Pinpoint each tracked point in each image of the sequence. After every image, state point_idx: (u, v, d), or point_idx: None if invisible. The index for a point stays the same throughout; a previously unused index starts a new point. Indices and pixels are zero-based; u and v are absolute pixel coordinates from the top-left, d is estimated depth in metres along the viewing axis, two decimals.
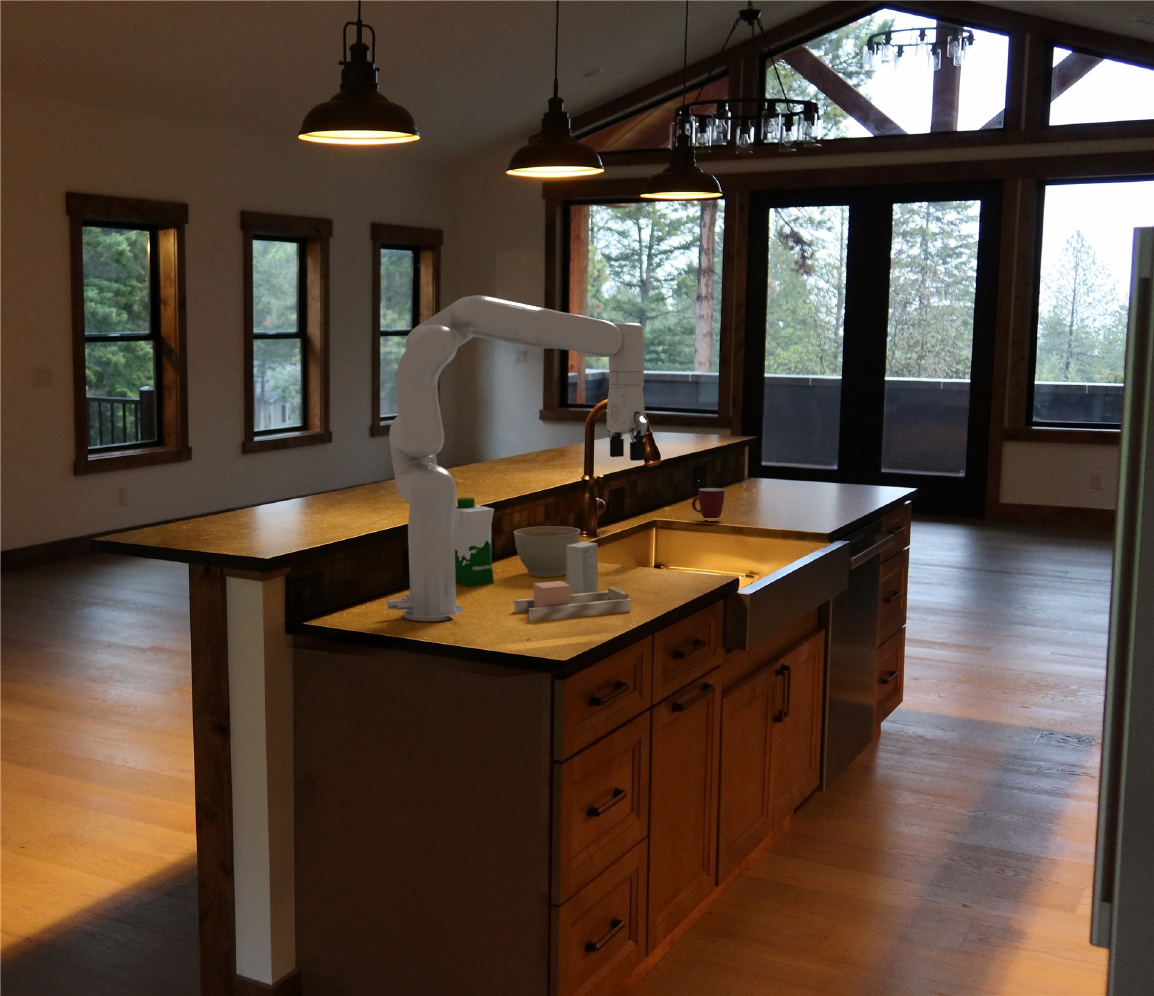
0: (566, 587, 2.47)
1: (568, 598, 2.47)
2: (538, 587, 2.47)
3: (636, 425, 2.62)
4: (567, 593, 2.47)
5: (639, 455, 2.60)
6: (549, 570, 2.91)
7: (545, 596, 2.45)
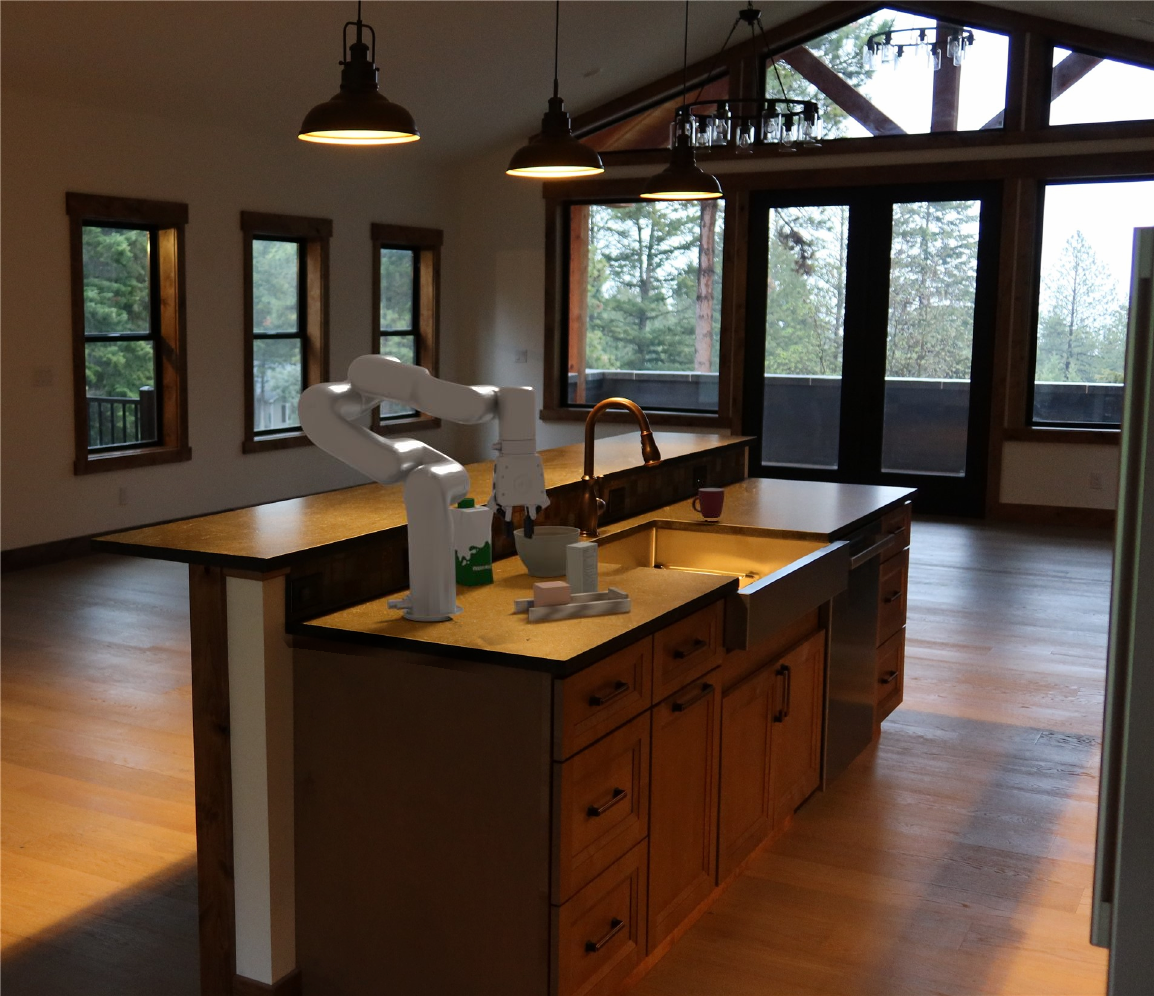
0: (566, 587, 2.47)
1: (568, 598, 2.47)
2: (538, 587, 2.47)
3: None
4: (567, 593, 2.47)
5: None
6: (549, 570, 2.91)
7: (545, 596, 2.45)
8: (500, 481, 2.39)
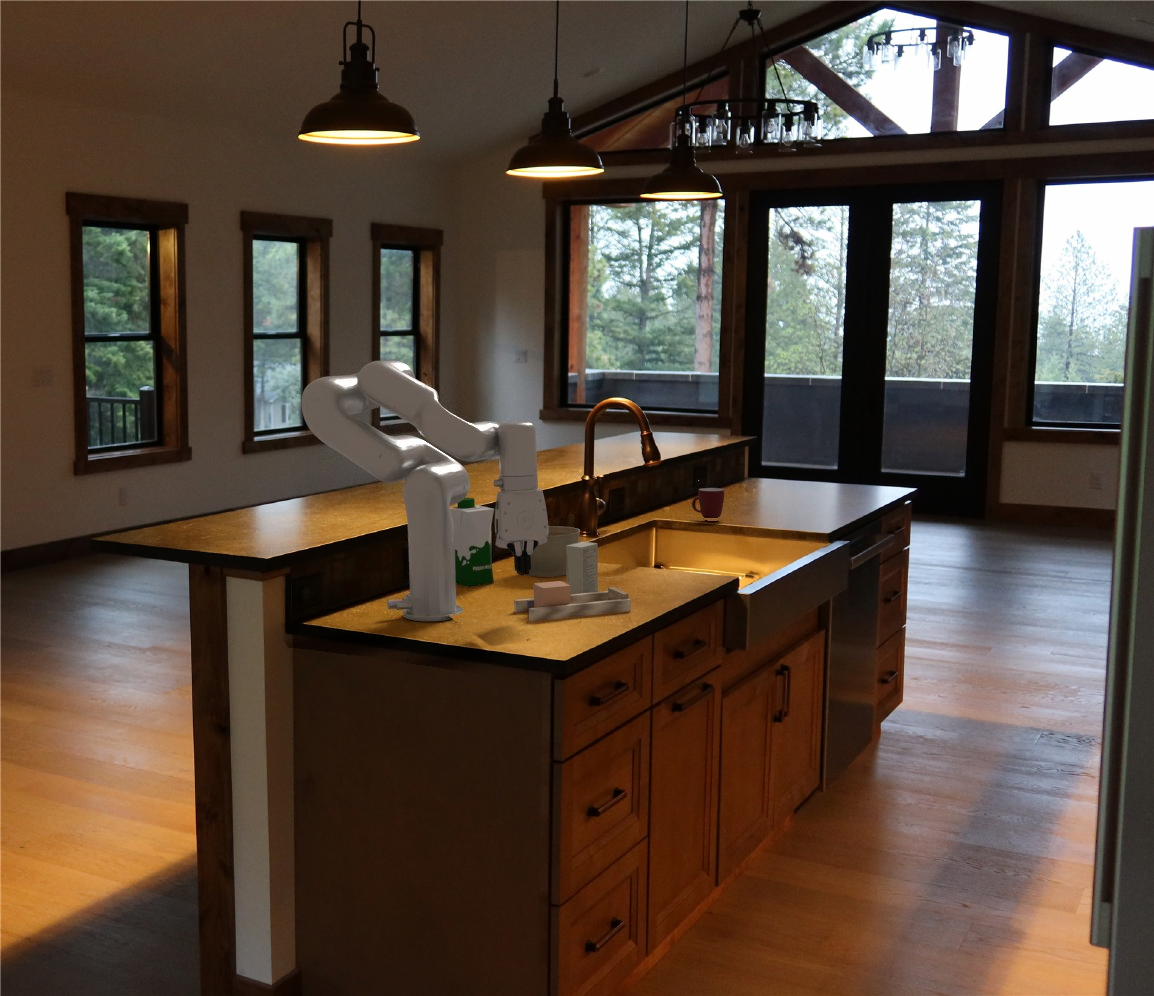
0: (566, 587, 2.47)
1: (568, 598, 2.47)
2: (538, 587, 2.47)
3: None
4: (567, 593, 2.47)
5: None
6: (549, 570, 2.91)
7: (545, 596, 2.45)
8: (503, 517, 2.39)
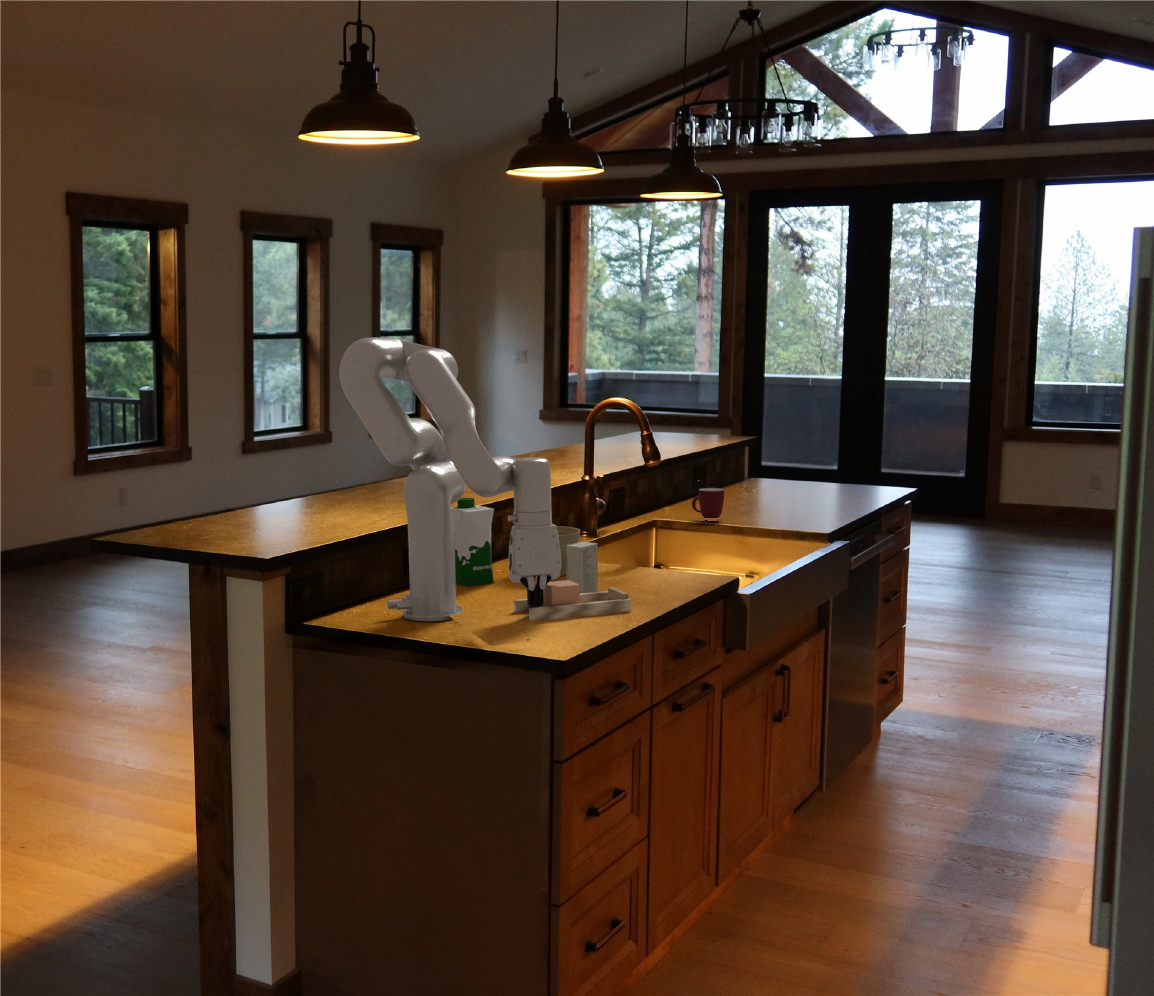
0: (575, 586, 2.47)
1: (577, 597, 2.48)
2: (547, 586, 2.48)
3: None
4: (576, 592, 2.48)
5: None
6: None
7: (554, 595, 2.46)
8: (516, 553, 2.42)
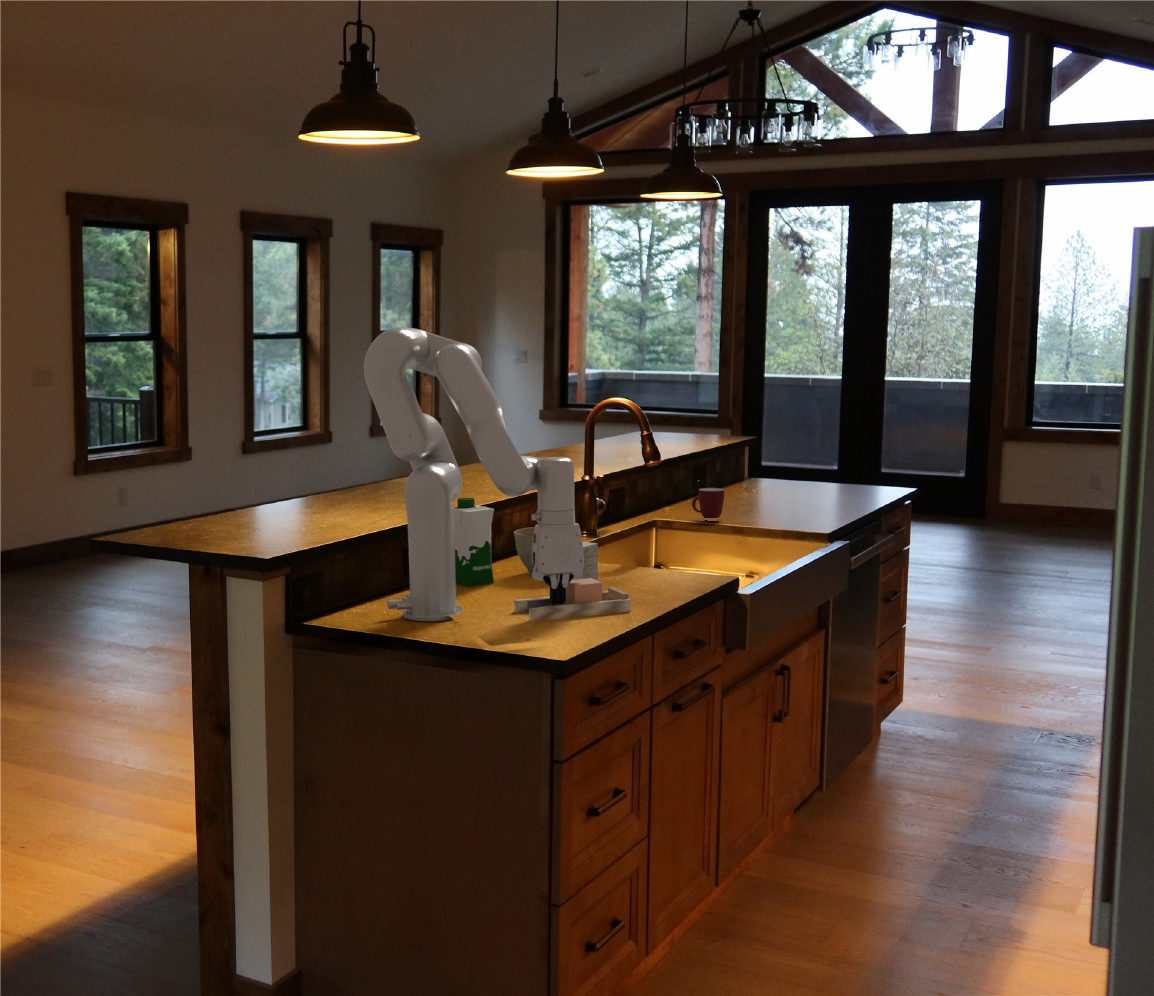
0: (598, 584, 2.49)
1: (599, 595, 2.50)
2: (570, 584, 2.50)
3: None
4: (599, 590, 2.49)
5: None
6: None
7: (577, 593, 2.48)
8: (540, 551, 2.44)
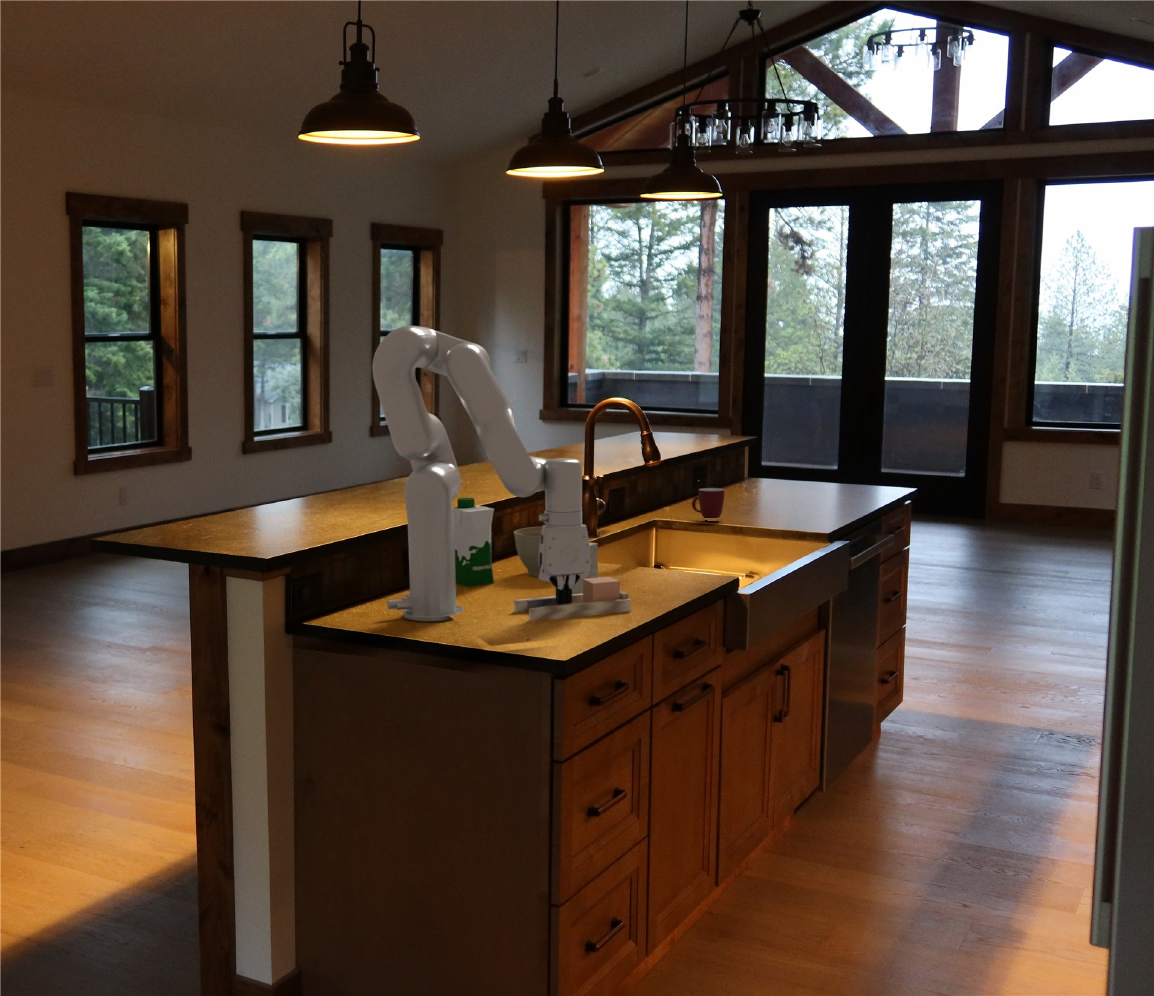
0: (615, 582, 2.51)
1: (617, 593, 2.51)
2: (588, 582, 2.51)
3: None
4: (616, 588, 2.51)
5: None
6: None
7: (595, 591, 2.49)
8: (547, 552, 2.44)
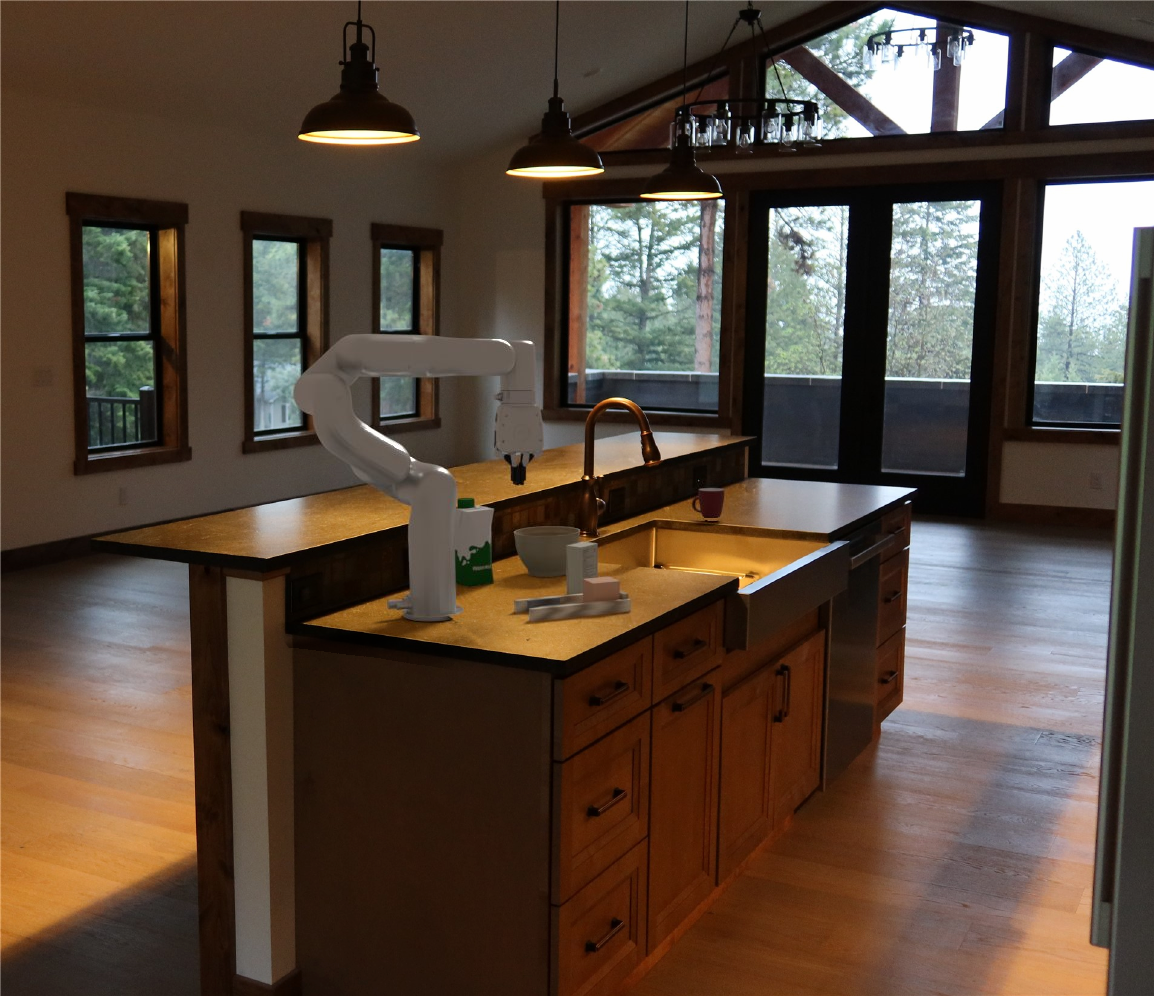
0: (615, 582, 2.51)
1: (617, 593, 2.51)
2: (588, 582, 2.51)
3: None
4: (616, 588, 2.51)
5: None
6: (549, 570, 2.91)
7: (595, 591, 2.49)
8: (500, 429, 2.54)
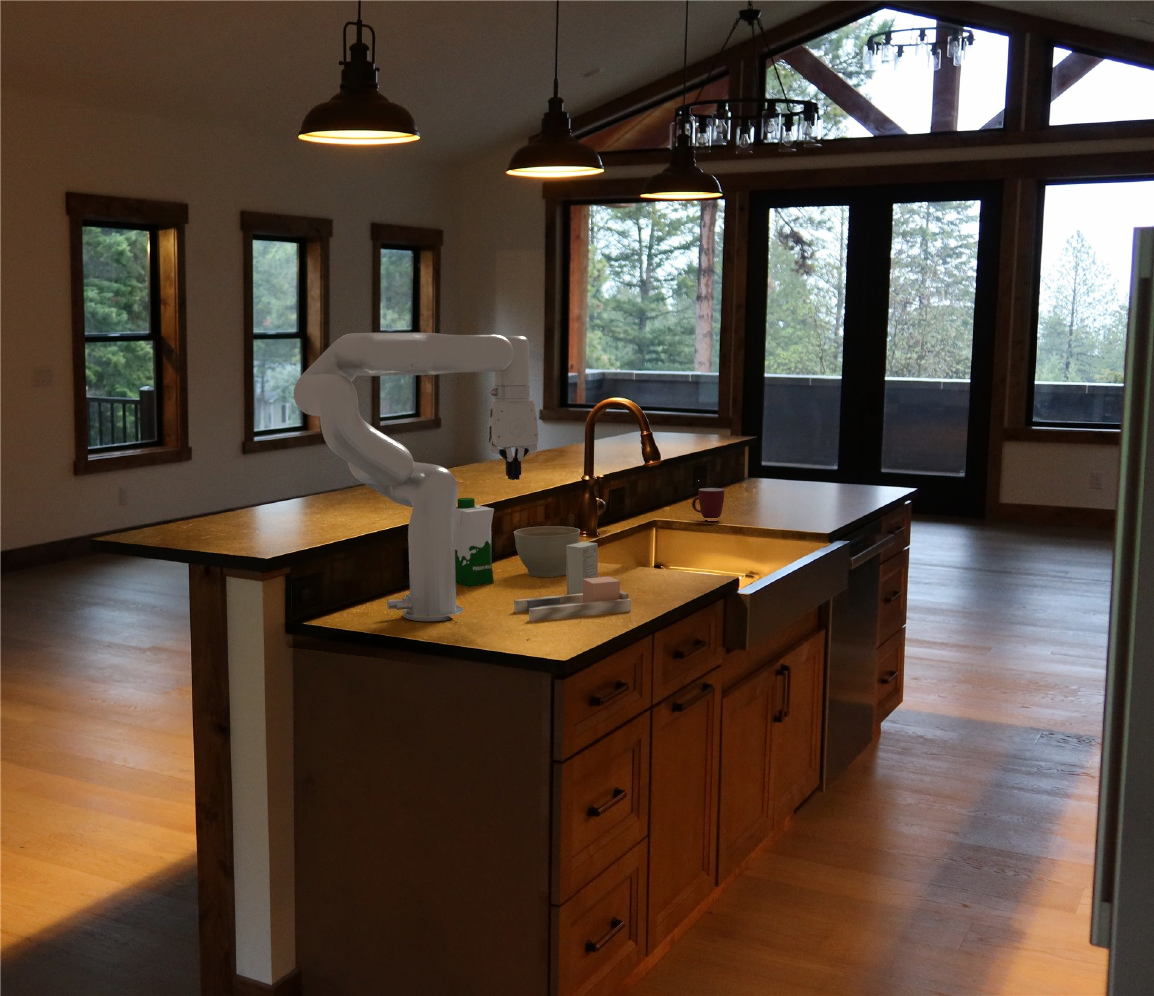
0: (615, 582, 2.51)
1: (617, 593, 2.51)
2: (588, 582, 2.51)
3: None
4: (616, 588, 2.51)
5: None
6: (549, 570, 2.91)
7: (595, 591, 2.49)
8: (496, 424, 2.56)
